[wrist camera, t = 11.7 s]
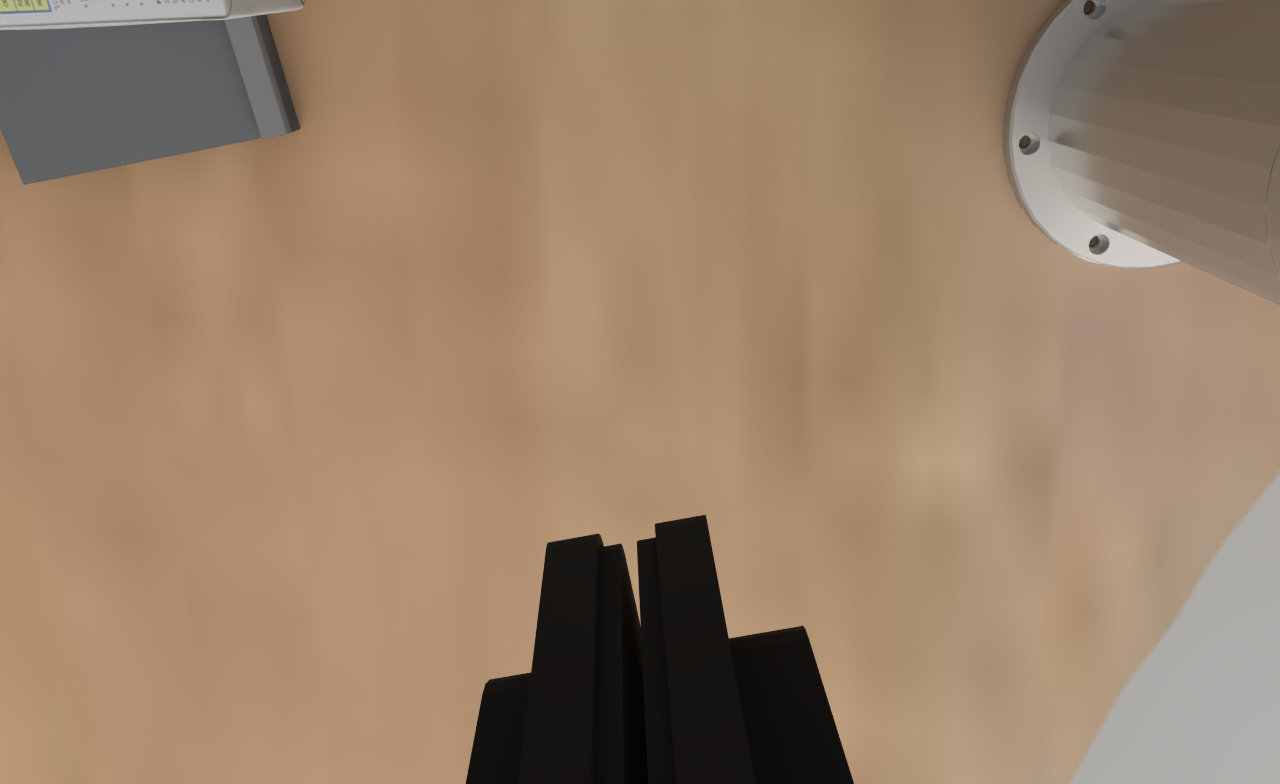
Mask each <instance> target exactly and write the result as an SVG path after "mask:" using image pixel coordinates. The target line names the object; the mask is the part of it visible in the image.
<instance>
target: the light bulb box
mask: <svg viewBox="0 0 1280 784" xmlns="http://www.w3.org/2000/svg"><path fill="white" fill-rule="evenodd" d="M303 7H304V0H0V30H32V29H65V28H82V27H104V26H122V25H139V24H155V23H171V22H186V21H202V20H227V19H234V18H242V17H249V16H256V15H265V14H273V13H281V12H288V11H295V10H299V9H302V8H303Z"/></svg>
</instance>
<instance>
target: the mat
mask: <svg viewBox="0 0 1280 784" xmlns="http://www.w3.org/2000/svg"><path fill="white" fill-rule="evenodd" d="M0 128H1V130H2V133H3V135H4V138H5V140H6V143H7V145H8V147H9V150H10V152H11V155H12V157H13V160H14V162H15V165H16V167H17V169H18V172H19V174H20V177H21V179H22V182H23V184H24V185H25V184H30V183H35V182H40V181H45V180H50V179H55V178H60V177H65V176H70V175H76V174H81V173H86V172H91V171H96V170H101V169H106V168H111V167H116V166H121V165H126V164H132V163H137V162H142V161H147V160H152V159H157V158H162V157H167V156H172V155H177V154H182V153H188V152H193V151H198V150H203V149H208V148H213V147H218V146H223V145H228V144H233V143H238V142H244V141H249V140H254V139H259V138H262V139H263V138H269V137H274V136H279V135H284V134H288V133H290V132H293V131H295V130H298V129H300V126H299V123H298V120H297V116H296V113H295V110H294V106H293V103H292V100H291V96H290V93H289V90H288V86H287V83H286V80H285V76H284V73H283V70H282V66H281V63H280V60H279V56H278V53H277V50H276V47H275V43H274V40H273V37H272V33H271V30H270V27H269V23H268V20H267V17H266V14H265V15H256V16H249V17H242V18H234V19H227V20H202V21H186V22H171V23H155V24H139V25H122V26H104V27H82V28H65V29H32V30H0Z"/></svg>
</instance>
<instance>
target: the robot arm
mask: <svg viewBox="0 0 1280 784" xmlns="http://www.w3.org/2000/svg"><path fill="white" fill-rule="evenodd" d="M1086 1H1088V0H1065V1H1064V2H1063V3H1062V4H1061V5H1060V6H1059V7H1058V8H1057V9H1056V10H1055V11H1054V13H1053V14H1052V15H1051V16H1050V17H1049V19H1048V20H1047V21H1046V22H1045V24H1044V25H1043V26H1042V27H1041V28H1040V30H1039V31H1038V32H1037V34H1036V35H1035V37H1034V39H1033V40H1032V42H1031V44H1030V45H1029V47H1028V49H1027V51H1026V52H1025V54H1024V56H1023V58H1022V60H1021V61H1020V64H1019V66H1018V69H1017V71H1016V74H1015V77H1014V80H1013V82H1012V85H1011V88H1010V91H1009V94H1008V100H1007V105H1006V111H1005V116H1004V123H1003V151H1004V157H1005V163H1006V168H1007V173H1008V178H1009V181H1010V183H1011V186H1012V188H1013V191H1014V193H1015V195H1016V198H1017V200H1018V202H1019V204H1020V206H1021V207H1022V209H1023V210H1024V212H1025V213H1026V215H1027V216H1028V217H1029V219H1030V220H1031V222H1032V223H1033V224H1034V225H1035V227H1037V228H1038V229H1039V230H1040V231H1041V232H1042V233H1043V234H1044V235H1045V236H1046V237H1048V238H1049V239H1050V240H1051V241H1052V242H1053V243H1055V244H1057V245H1058V246H1060V247H1062V248H1063V249H1065V250H1066V251H1068V252H1070V253H1072V254H1074V255H1076V256H1078V257H1080V258H1082V259H1085V260H1087V261H1089V262H1092V263H1095V264H1100V265H1105V266H1110V267H1115V268H1120V269H1150V268H1156V267H1161V266H1167V265H1172V264H1177V263H1180V262H1185V263H1187V264H1189V265H1192V266H1194V267H1196V268H1198V269H1200V270H1203V271H1205V272H1207V273H1209V274H1211V275H1214V276H1216V277H1218V278H1220V279H1223V280H1225V281H1227V282H1229V283H1231V284H1234V285H1236V286H1238V287H1240V288H1243V289H1245V290H1247V291H1249V292H1251V293H1254V294H1256V295H1258V296H1260V297H1262V298H1265V299H1267V300H1269V301H1271V302H1274V303H1276V304H1278V305H1280V0H1089V1H1091V2H1092V4H1093V9H1092V11H1091V12H1090V13H1089V14H1087V15H1085V14H1084V10H1083V9H1084V4H1085V2H1086ZM1024 135H1025V136H1027V137H1028V139H1029V142H1028V144H1027V146H1026V147H1024V148H1020V147H1019V141H1020V139H1021V138H1022V137H1023V136H1024ZM1094 236H1096V237H1097V243H1096V244H1095V245H1094V246H1092V247H1089V242H1090V240H1091V239H1092V238H1093V237H1094ZM655 534H656V538H651V539H645V540H639V541H637V555H638V576H639V597H640V618H641V626H640V621H639V617H638V612H637V608H636V603H635V599H634V594H633V590H632V585H631V580H630V576H629V571H628V567H627V562H626V558H625V553H624V550H623V546H622V544H617V545H611V546H605V547H604V545H603V542H602V539H601V536H600V534H594V535H589V536H583V537H577V538H572V539H566V540H560V541H555V542H549V543H547V547H546V554H545V563H544V571H543V579H542V588H541V596H540V604H539V613H538V621H537V629H536V638H535V646H534V654H533V663H532V671H531V673H526V674H520V675H514V676H508V677H502V678H496V679H491V680H489V681H488V682H487V683H486V684H485V688H484V691H483V694H482V700H481V705H480V710H479V716H478V721H477V726H476V732H475V737H474V742H473V748H472V753H471V758H470V764H469V769H468V775H467V780H466V784H854V782H853V779H852V776H851V773H850V770H849V766H848V763H847V760H846V757H845V754H844V750H843V747H842V744H841V741H840V738H839V734H838V731H837V728H836V725H835V722H834V718H833V715H832V712H831V709H830V705H829V702H828V699H827V696H826V693H825V689H824V686H823V683H822V680H821V677H820V673H819V670H818V667H817V664H816V661H815V657H814V654H813V651H812V648H811V644H810V641H809V638H808V635H807V632H806V630H805V628H804V627H803V626H800V627H794V628H788V629H782V630H776V631H770V632H765V633H759V634H753V635H747V636H741V637H735V638H730V639H729V638H728V633H727V627H726V622H725V616H724V611H723V606H722V600H721V595H720V589H719V584H718V579H717V573H716V568H715V562H714V557H713V552H712V546H711V541H710V535H709V530H708V525H707V519H706V515H702V516H696V517H690V518H685V519H679V520H674V521H668V522H662V523H657V524H655Z"/></svg>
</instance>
